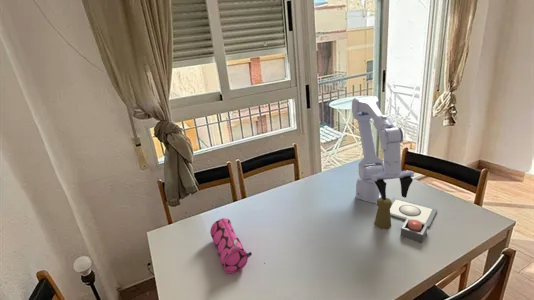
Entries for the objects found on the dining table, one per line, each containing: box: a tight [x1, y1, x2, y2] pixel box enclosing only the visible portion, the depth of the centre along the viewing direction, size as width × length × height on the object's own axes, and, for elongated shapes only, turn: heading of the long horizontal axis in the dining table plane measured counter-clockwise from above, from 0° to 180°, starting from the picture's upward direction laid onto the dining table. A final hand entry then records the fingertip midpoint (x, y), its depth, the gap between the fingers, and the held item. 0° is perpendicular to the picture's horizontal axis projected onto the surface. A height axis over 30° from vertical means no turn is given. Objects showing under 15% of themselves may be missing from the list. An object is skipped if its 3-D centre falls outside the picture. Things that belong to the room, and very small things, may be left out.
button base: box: [399, 218, 429, 244], centre depth 110 cm, size 7×7×4 cm
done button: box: [408, 220, 422, 232], centre depth 109 cm, size 4×4×2 cm
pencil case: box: [209, 217, 253, 274], centre depth 107 cm, size 21×10×10 cm, turn 24°
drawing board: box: [390, 197, 438, 229], centre depth 122 cm, size 17×13×1 cm
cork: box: [373, 197, 392, 230], centre depth 115 cm, size 6×6×11 cm
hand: (393, 198), depth 112 cm, fingers open, 7 cm apart
